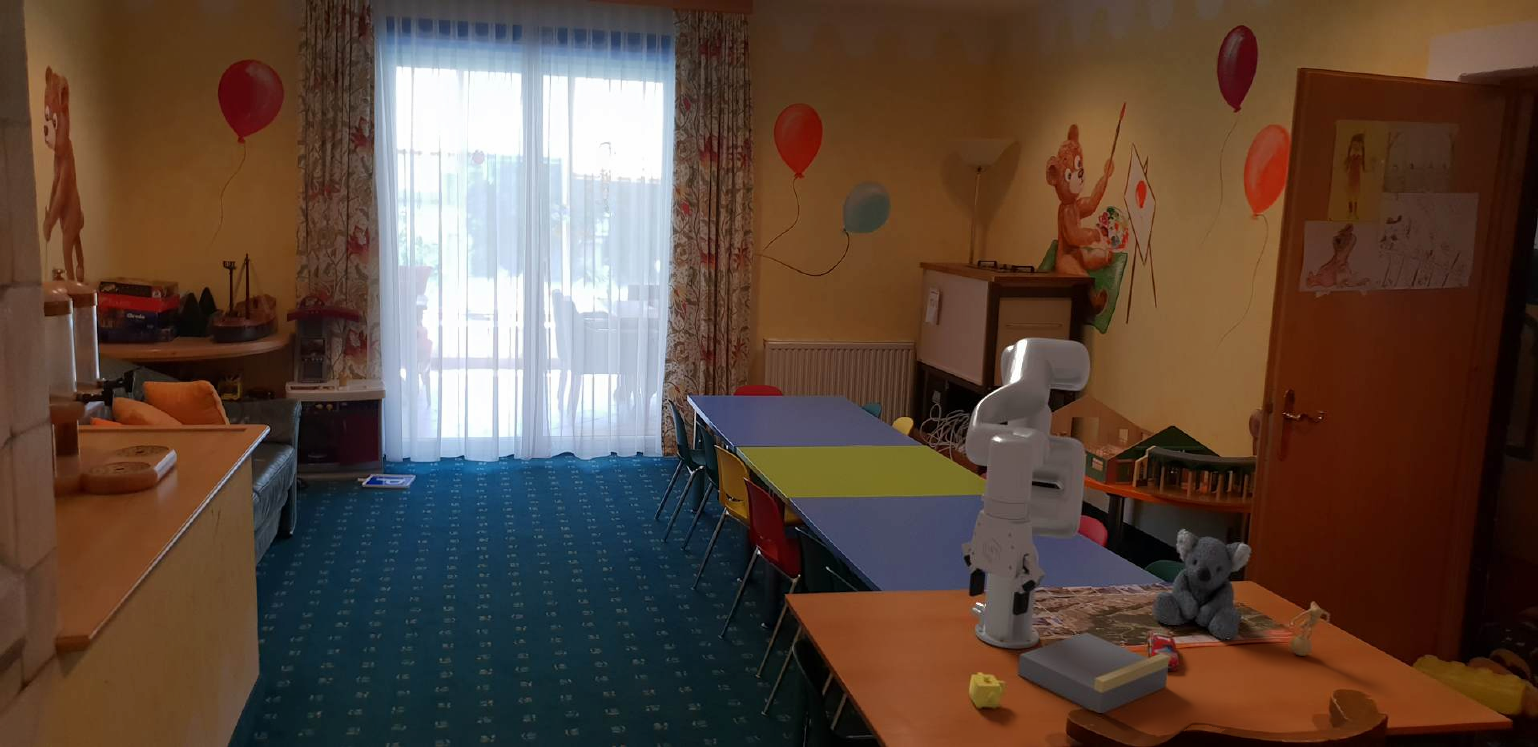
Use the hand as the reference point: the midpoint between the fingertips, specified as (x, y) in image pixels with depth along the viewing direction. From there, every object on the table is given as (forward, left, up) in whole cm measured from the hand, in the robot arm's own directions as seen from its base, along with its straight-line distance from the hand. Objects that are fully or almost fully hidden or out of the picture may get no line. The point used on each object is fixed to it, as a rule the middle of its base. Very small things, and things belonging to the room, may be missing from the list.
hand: (997, 603), depth 187 cm
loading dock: (+4, +24, -18) cm, 30 cm away
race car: (+5, +45, -19) cm, 49 cm away
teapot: (0, 0, -19) cm, 19 cm away
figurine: (+20, +71, -19) cm, 76 cm away
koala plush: (-2, +70, -19) cm, 72 cm away
